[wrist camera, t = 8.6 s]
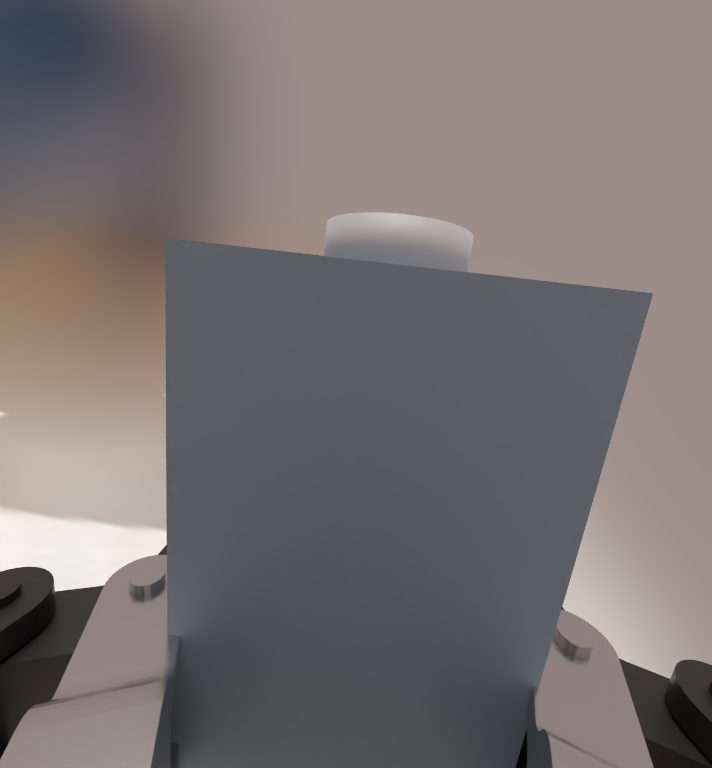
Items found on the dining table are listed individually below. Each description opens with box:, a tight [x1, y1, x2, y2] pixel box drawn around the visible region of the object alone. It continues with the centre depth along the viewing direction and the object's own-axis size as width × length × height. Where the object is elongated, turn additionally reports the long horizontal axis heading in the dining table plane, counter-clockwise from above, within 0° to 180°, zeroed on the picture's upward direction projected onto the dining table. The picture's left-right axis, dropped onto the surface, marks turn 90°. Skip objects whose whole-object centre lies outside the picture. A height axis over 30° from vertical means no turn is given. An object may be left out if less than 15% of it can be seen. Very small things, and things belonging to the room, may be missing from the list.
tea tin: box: [165, 212, 653, 768], centre depth 7 cm, size 5×5×15 cm
